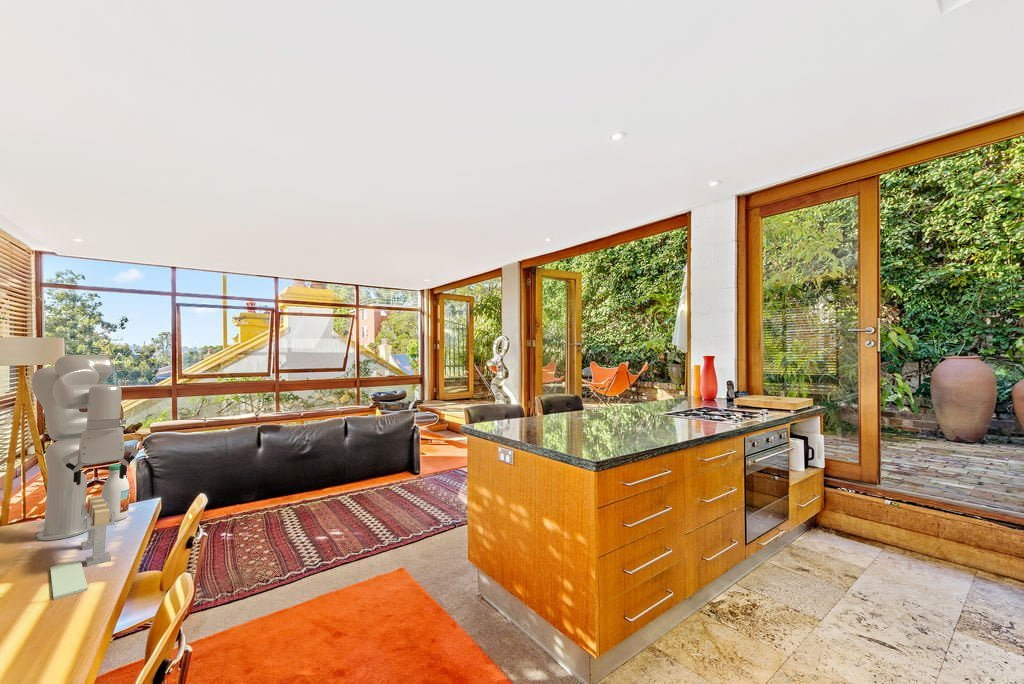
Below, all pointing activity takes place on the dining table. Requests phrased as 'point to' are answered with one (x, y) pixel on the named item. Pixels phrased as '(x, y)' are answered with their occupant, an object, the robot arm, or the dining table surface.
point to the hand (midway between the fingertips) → (100, 481)
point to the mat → (68, 579)
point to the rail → (98, 511)
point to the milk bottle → (116, 493)
